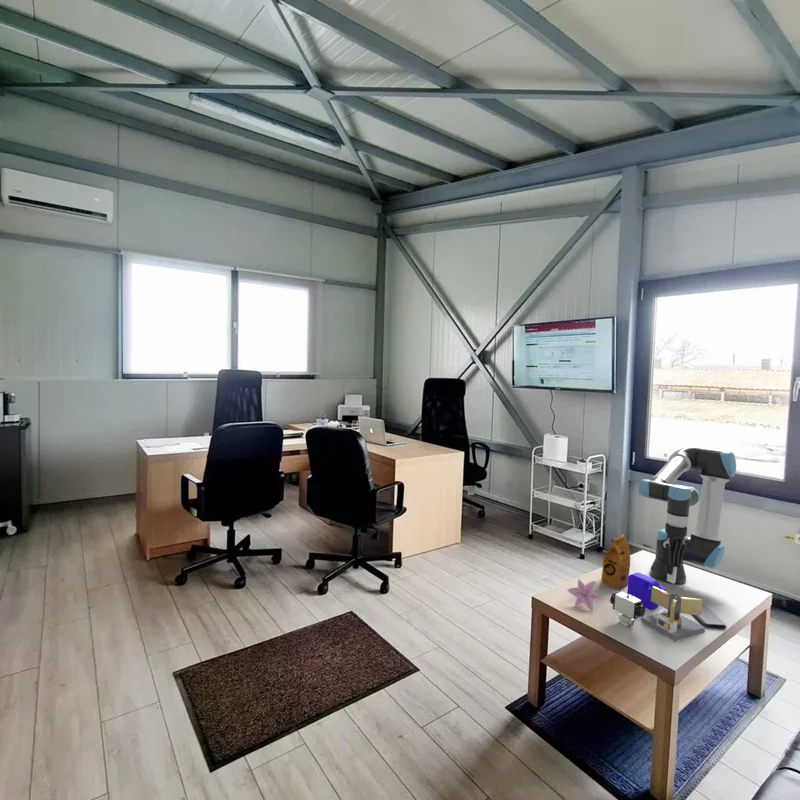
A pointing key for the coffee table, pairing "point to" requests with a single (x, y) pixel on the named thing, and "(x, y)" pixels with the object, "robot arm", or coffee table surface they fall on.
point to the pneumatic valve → (627, 607)
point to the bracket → (643, 589)
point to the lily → (585, 594)
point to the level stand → (673, 626)
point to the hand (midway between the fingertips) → (671, 581)
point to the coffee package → (616, 564)
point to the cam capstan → (676, 605)
